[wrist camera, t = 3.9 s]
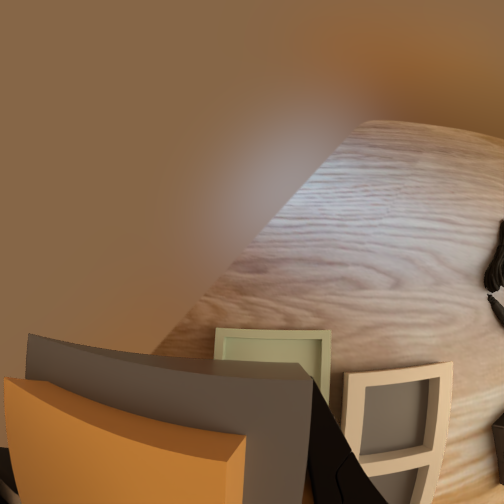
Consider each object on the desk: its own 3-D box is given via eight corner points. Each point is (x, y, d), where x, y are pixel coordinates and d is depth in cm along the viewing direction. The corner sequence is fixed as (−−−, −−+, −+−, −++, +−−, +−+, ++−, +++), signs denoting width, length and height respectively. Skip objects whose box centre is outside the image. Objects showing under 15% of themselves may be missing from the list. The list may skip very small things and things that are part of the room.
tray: (324, 437, 18) (325, 441, 17) (214, 430, 19) (209, 434, 18) (329, 331, 21) (331, 329, 20) (220, 329, 23) (215, 327, 22)
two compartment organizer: (415, 512, 12) (424, 523, 10) (324, 528, 14) (326, 541, 12) (439, 362, 18) (453, 361, 16) (343, 372, 20) (348, 373, 18)
